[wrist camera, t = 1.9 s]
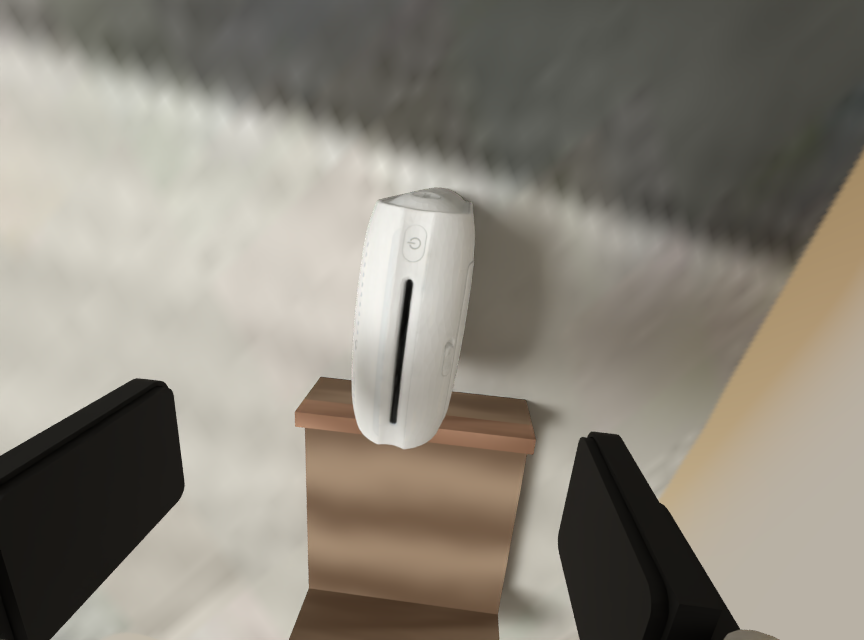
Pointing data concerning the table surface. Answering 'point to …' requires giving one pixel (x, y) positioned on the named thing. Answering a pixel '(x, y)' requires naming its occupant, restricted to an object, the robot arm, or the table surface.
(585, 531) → the robot arm
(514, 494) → the cleat board
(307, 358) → the table surface
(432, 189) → the photo printer
